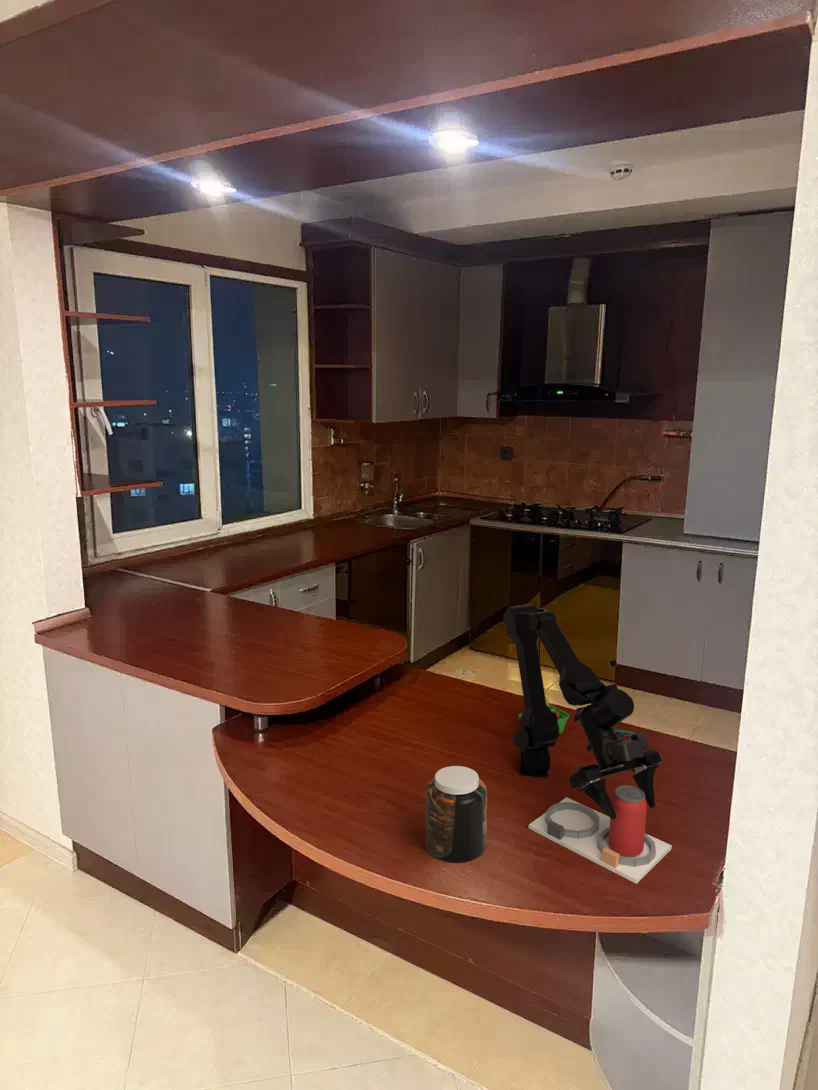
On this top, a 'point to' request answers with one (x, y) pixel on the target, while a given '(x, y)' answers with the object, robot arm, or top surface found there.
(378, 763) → the top surface
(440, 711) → the top surface
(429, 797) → the jar
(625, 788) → the beer can
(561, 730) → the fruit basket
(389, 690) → the top surface
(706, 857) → the top surface
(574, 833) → the board
